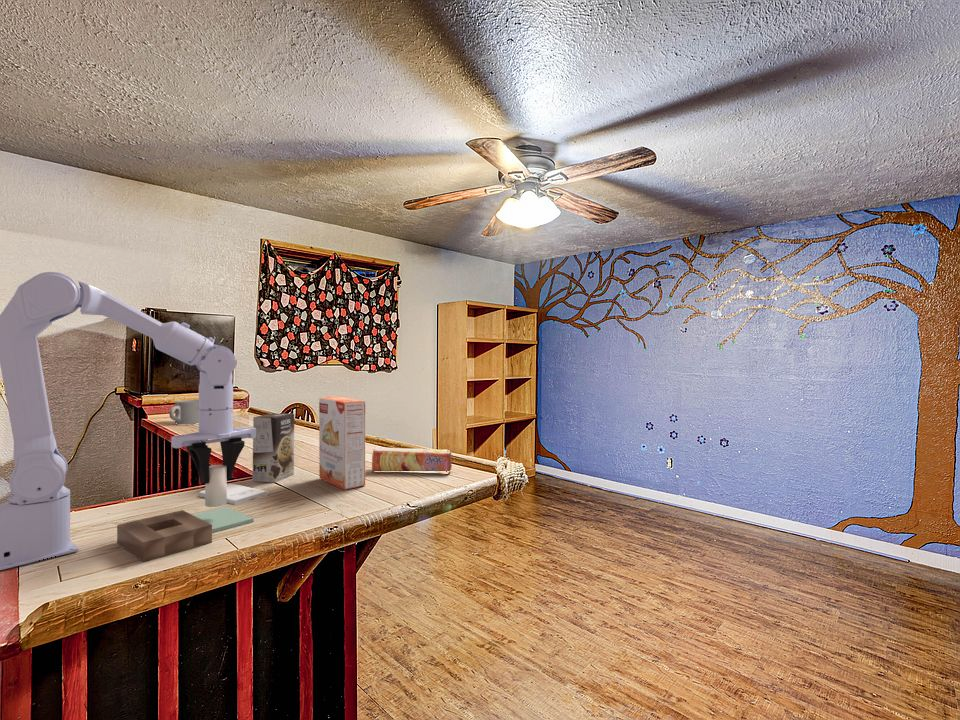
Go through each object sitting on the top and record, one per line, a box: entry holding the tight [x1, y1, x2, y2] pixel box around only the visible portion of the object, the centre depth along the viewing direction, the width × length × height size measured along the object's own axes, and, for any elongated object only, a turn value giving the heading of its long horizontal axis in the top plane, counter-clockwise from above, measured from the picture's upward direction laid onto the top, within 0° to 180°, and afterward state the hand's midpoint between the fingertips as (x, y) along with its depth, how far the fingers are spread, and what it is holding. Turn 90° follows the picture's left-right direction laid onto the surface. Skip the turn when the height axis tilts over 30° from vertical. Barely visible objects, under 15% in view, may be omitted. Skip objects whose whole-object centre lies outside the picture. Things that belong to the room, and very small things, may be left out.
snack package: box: [371, 446, 453, 472], centre depth 133 cm, size 21×7×7 cm, turn 88°
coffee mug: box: [168, 399, 199, 425], centre depth 214 cm, size 13×10×10 cm
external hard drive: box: [198, 483, 269, 505], centre depth 109 cm, size 2×8×12 cm
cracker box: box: [318, 395, 366, 491], centre depth 121 cm, size 14×6×21 cm, turn 42°
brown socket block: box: [116, 509, 213, 563], centre depth 82 cm, size 10×12×3 cm
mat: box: [192, 506, 255, 534], centre depth 93 cm, size 9×11×1 cm
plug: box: [204, 464, 228, 508], centre depth 92 cm, size 4×4×7 cm
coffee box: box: [251, 413, 295, 484], centre depth 125 cm, size 9×6×16 cm
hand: (215, 480), depth 93 cm, fingers closed on plug, 4 cm apart
